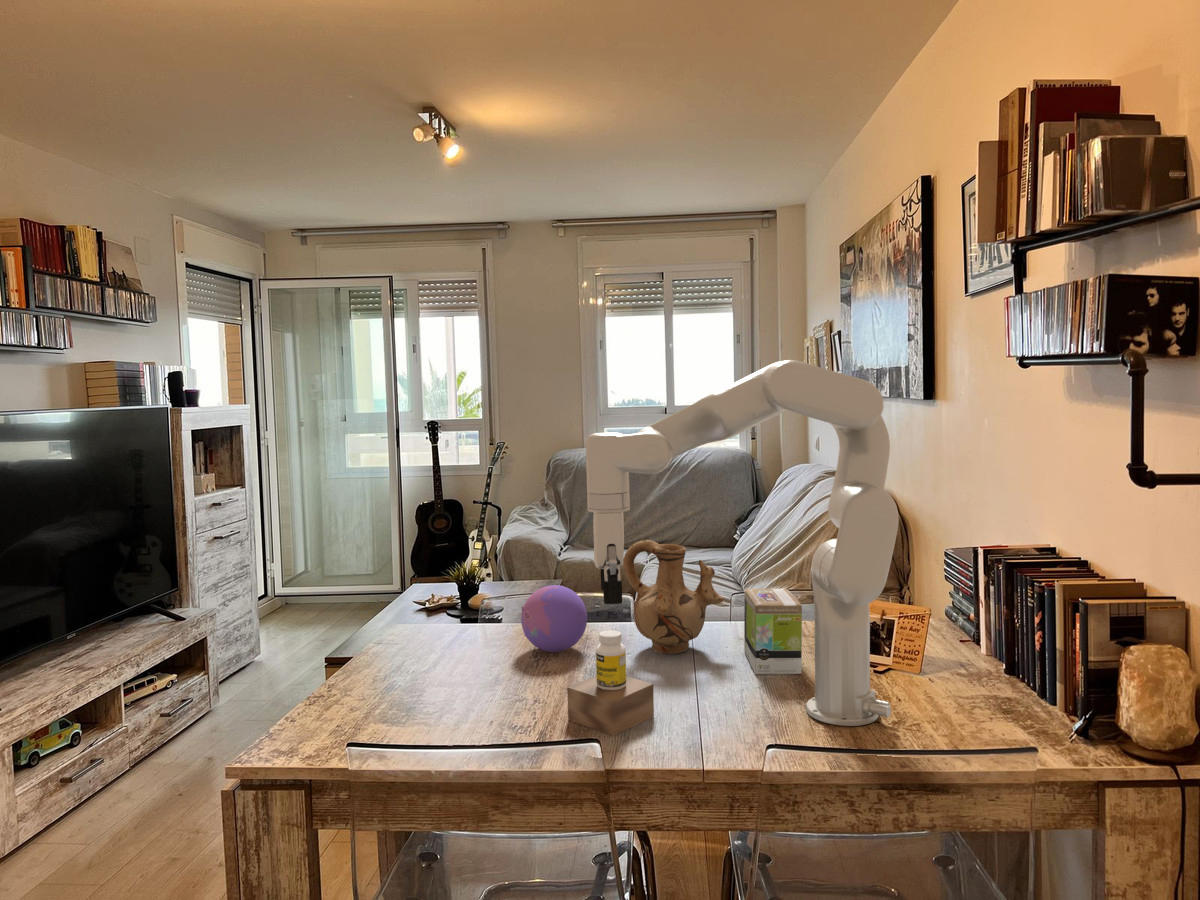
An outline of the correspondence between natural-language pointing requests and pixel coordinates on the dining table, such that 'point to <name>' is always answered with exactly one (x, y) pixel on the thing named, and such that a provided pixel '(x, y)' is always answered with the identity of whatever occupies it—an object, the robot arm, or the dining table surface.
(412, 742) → the dining table surface
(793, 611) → the tea box
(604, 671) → the supplement bottle
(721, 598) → the ceramic vessel
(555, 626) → the decorative ball
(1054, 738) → the dining table surface
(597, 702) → the walnut block
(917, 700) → the dining table surface
